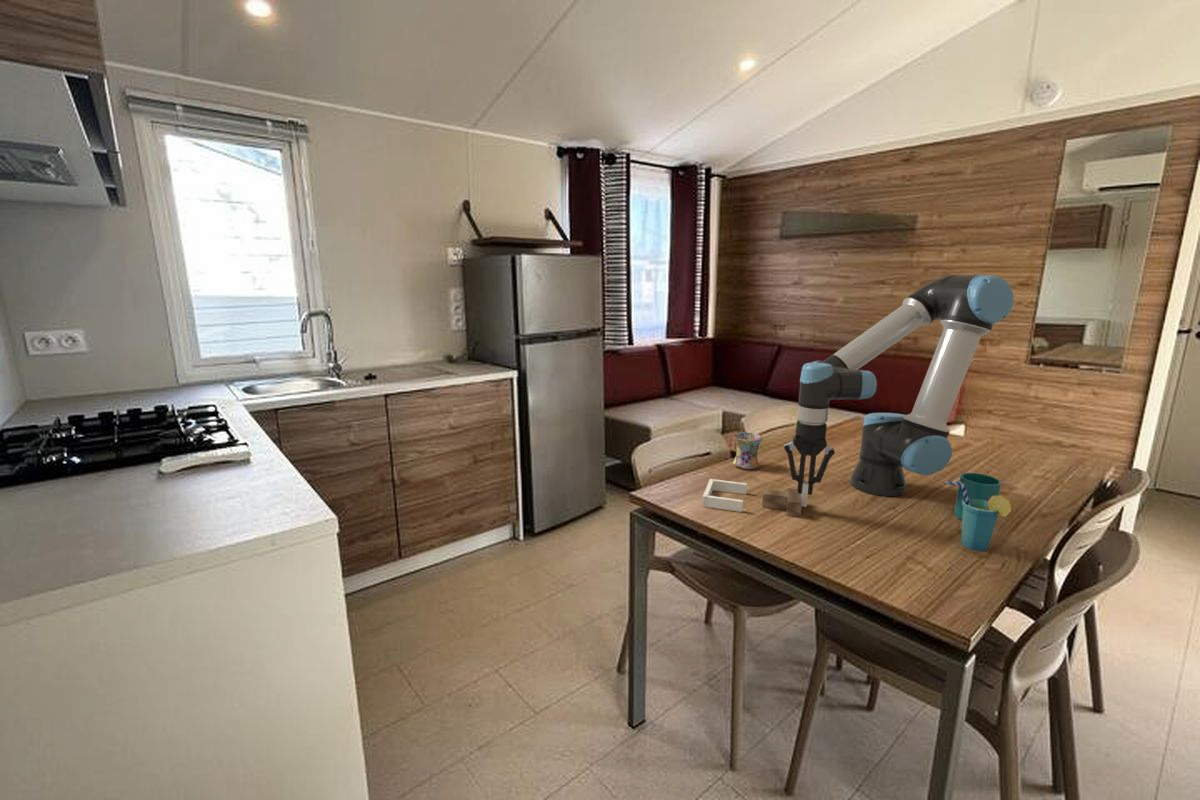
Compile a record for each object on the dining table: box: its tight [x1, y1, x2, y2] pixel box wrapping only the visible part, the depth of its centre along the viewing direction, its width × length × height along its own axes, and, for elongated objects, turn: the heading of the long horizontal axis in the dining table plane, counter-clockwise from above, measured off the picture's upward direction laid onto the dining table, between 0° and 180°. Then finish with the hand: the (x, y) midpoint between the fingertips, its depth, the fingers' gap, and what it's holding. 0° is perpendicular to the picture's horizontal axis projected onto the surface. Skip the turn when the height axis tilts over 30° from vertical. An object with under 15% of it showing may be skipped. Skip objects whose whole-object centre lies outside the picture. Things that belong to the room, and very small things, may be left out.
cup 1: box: [953, 472, 1002, 520], centre depth 145 cm, size 9×12×11 cm
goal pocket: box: [701, 478, 748, 513], centre depth 156 cm, size 11×14×3 cm
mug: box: [732, 431, 763, 470], centre depth 184 cm, size 12×9×11 cm
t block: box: [761, 487, 803, 518], centre depth 151 cm, size 10×10×4 cm
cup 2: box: [944, 480, 1014, 552], centre depth 129 cm, size 14×8×15 cm, turn 47°
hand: (803, 504), depth 149 cm, fingers closed
